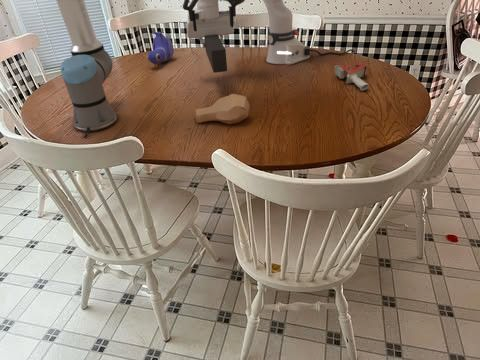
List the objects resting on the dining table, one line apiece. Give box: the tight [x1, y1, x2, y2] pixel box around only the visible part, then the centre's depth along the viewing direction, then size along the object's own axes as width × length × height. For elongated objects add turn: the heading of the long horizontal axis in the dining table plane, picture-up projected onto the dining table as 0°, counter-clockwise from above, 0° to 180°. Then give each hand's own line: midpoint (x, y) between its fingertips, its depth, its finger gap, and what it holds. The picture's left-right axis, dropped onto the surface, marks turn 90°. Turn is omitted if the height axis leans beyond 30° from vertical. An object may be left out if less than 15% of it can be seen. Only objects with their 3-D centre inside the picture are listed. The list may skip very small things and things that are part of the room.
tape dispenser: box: [334, 61, 370, 92], centre depth 151 cm, size 18×5×20 cm
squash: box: [195, 93, 251, 125], centre depth 127 cm, size 11×20×9 cm, turn 92°
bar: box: [203, 35, 228, 74], centre depth 147 cm, size 28×5×8 cm, turn 11°
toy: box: [146, 31, 175, 69], centre depth 182 cm, size 10×17×25 cm
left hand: (213, 28), depth 129 cm, fingers open, 13 cm apart
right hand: (212, 46), depth 156 cm, fingers closed on bar, 5 cm apart
